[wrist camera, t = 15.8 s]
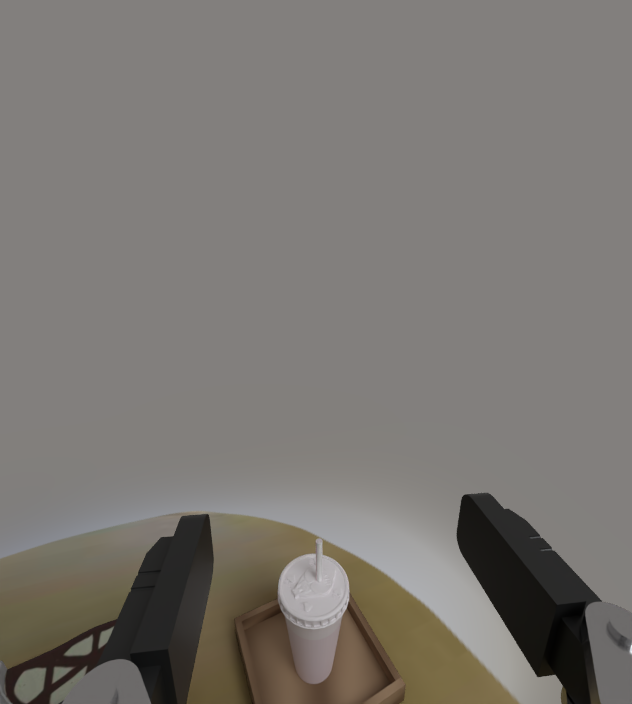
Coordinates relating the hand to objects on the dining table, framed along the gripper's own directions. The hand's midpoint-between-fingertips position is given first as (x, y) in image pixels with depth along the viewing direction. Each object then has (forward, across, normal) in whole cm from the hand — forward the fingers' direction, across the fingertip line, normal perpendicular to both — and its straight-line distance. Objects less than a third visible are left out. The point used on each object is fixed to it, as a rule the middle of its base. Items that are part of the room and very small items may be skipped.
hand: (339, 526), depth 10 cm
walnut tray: (+14, 0, +30) cm, 33 cm away
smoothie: (+14, -1, +30) cm, 33 cm away
